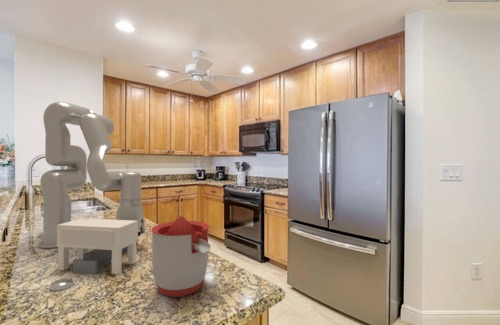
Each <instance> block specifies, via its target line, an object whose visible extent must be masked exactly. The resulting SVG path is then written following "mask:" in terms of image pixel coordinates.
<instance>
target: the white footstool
mask: <svg viewBox="0 0 500 325" xmlns="http://www.w3.org/2000/svg"><path fill="white" fill-rule="evenodd" d="M136 241H137V242H138V241H139V237H138V221H133V220H116V219H109V218H108V219H106V218H103V219H102V218H85V217H84V218H78V219H74V220H71V221H70V222H66V223H63V224H59V225H57V247H56V248H57V271H65V270H68V269H70V268H69V267H70V266H69V265H70V256H69V255H70V248H73V249H77V259H83V255H84V254H86V253H88V249H90V250H95V249H104V250H112V261H111V275H119V274H120V273H122V270H123V268H122V267H123V265H122V264H123V262H122V260H123V259H122V258H123V256H122V249H123V248H125V247H127V246H128V252H127V265H134V264H136V263H137V247H136Z"/></svg>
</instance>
